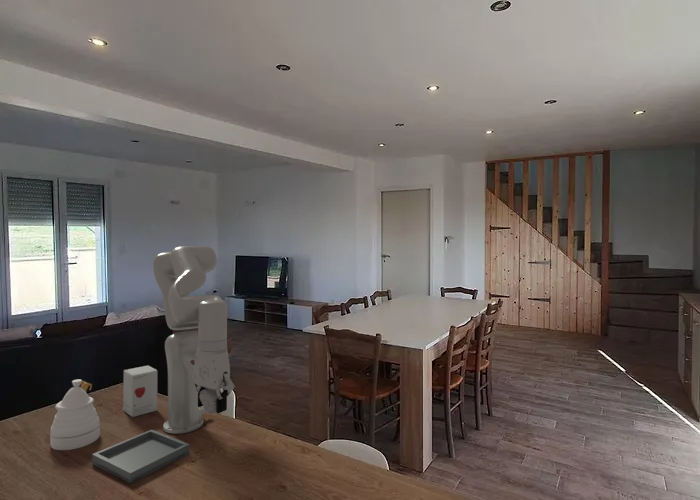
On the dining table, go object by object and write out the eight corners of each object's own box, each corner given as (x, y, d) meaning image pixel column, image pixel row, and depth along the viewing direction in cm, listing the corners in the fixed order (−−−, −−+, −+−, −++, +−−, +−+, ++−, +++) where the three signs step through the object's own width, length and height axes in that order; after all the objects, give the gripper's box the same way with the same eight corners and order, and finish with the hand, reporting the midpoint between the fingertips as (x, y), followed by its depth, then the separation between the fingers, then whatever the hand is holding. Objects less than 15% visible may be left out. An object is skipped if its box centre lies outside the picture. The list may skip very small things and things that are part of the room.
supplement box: (131, 418, 147) (131, 375, 147) (122, 410, 154) (122, 369, 153) (158, 410, 154) (158, 369, 154) (148, 403, 160) (148, 364, 160)
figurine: (82, 408, 155) (82, 376, 155) (97, 409, 154) (97, 377, 154) (63, 418, 147) (63, 383, 146) (79, 419, 146) (78, 385, 145)
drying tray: (151, 438, 133) (151, 429, 133) (189, 453, 123) (189, 444, 123) (92, 464, 117) (92, 454, 117) (130, 483, 108) (130, 473, 108)
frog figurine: (207, 406, 121) (207, 382, 120) (229, 409, 119) (229, 385, 119) (194, 415, 115) (194, 389, 115) (217, 418, 113) (217, 392, 113)
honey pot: (57, 434, 135) (57, 378, 134) (103, 428, 139) (103, 374, 139) (44, 453, 123) (43, 392, 122) (95, 446, 127) (94, 387, 127)
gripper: (180, 342, 117) (180, 405, 118) (224, 353, 108) (223, 421, 109) (202, 337, 124) (201, 397, 125) (245, 346, 115) (244, 411, 116)
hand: (212, 407), depth 117 cm, fingers closed on frog figurine, 6 cm apart
